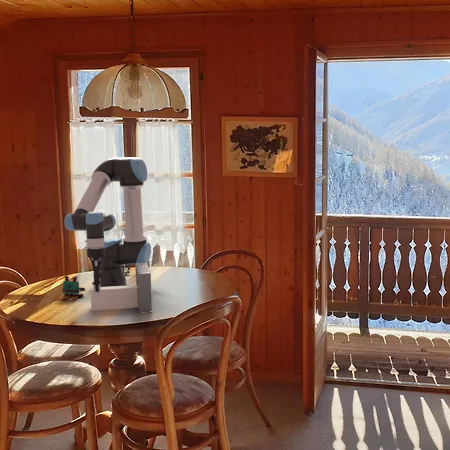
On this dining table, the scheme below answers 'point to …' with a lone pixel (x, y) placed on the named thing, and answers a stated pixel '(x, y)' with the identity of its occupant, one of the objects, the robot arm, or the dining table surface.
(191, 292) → the dining table surface
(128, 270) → the valve
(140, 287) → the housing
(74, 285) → the binoculars
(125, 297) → the grey rectangular block
